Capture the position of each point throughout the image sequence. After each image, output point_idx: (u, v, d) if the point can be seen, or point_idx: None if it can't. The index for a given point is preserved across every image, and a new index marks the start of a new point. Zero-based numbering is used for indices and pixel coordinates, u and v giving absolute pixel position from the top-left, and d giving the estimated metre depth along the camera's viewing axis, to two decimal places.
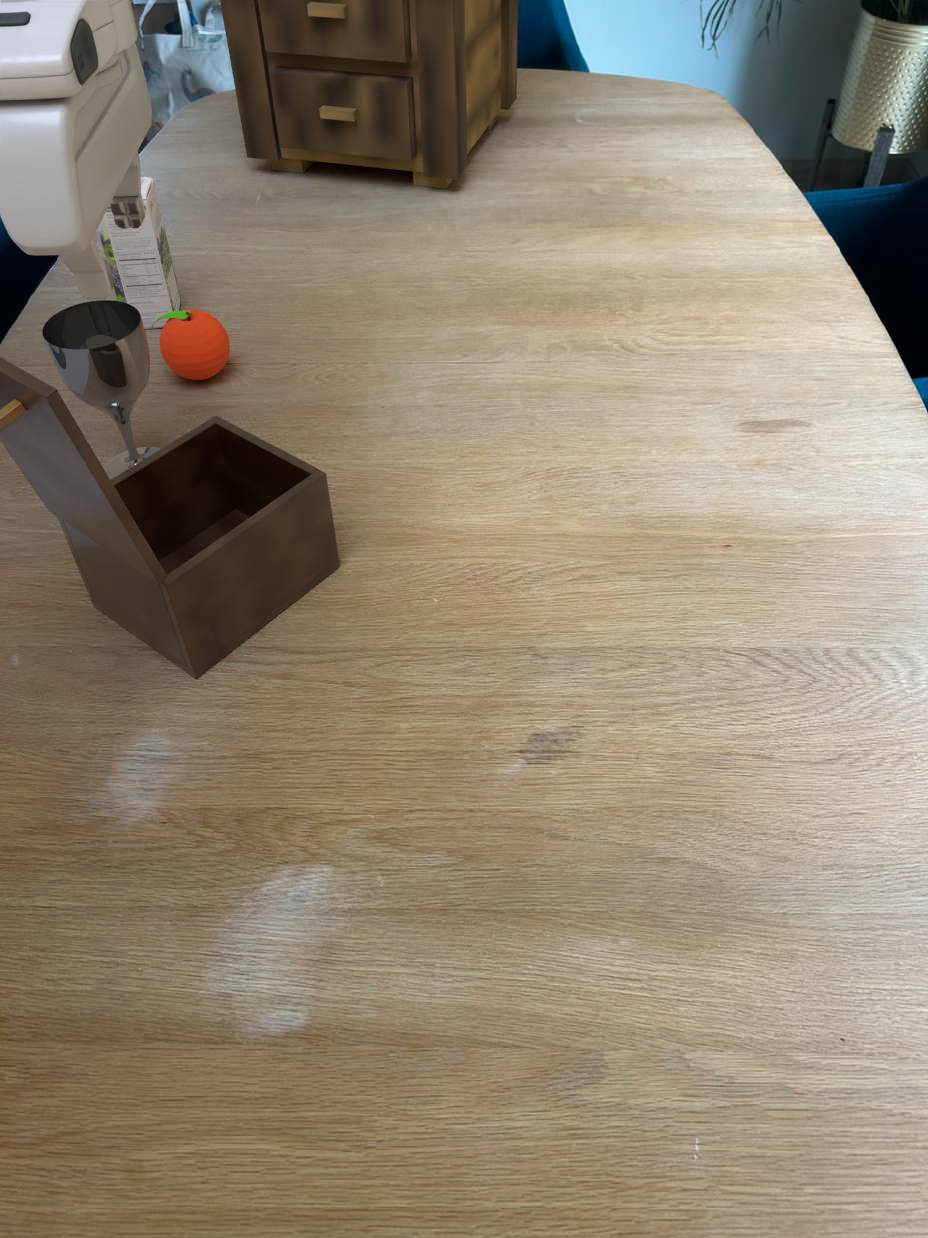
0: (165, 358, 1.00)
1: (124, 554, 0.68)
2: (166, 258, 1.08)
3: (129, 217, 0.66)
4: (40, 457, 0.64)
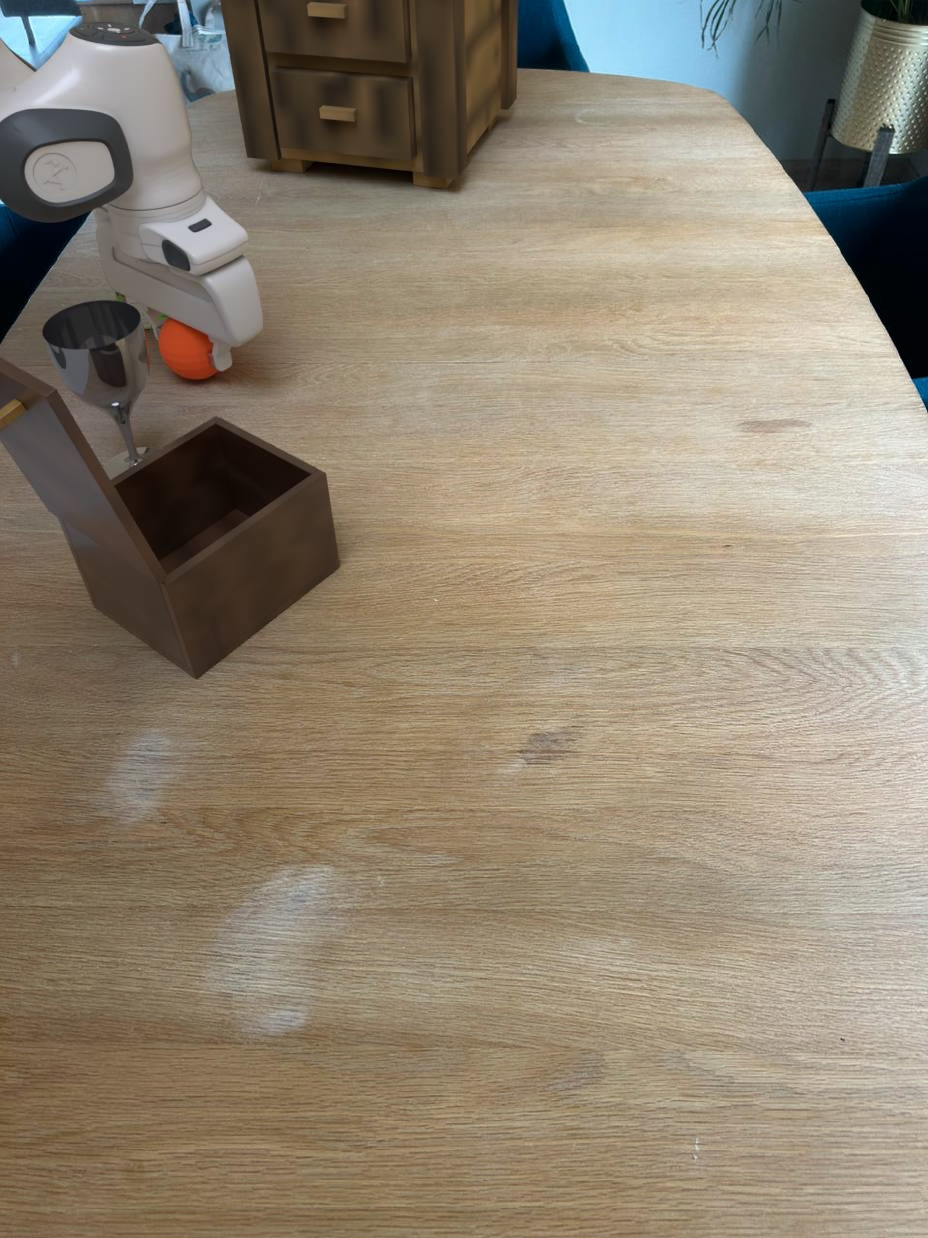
0: (164, 358, 1.00)
1: (124, 554, 0.68)
2: None
3: None
4: (40, 457, 0.64)
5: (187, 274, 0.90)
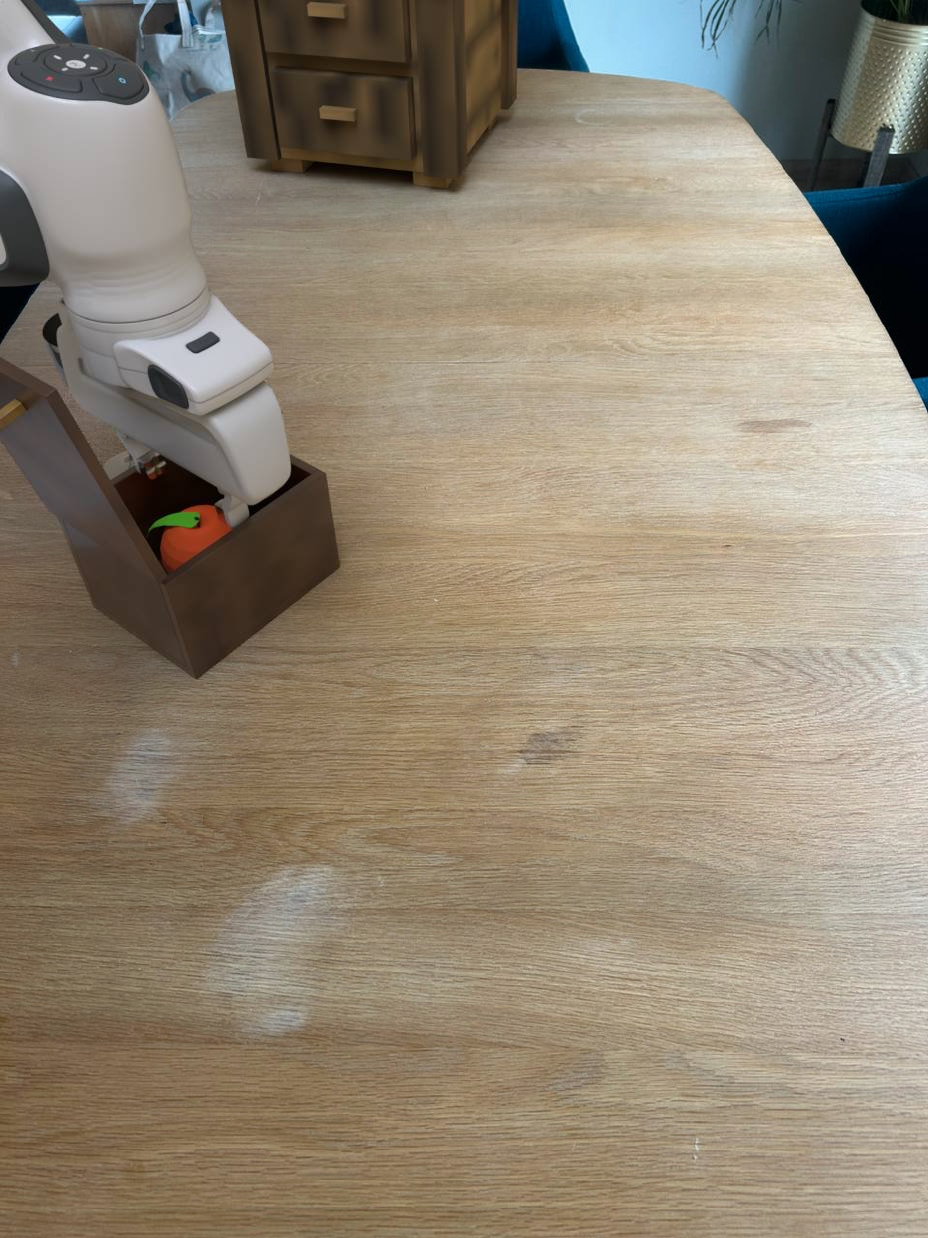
0: None
1: (124, 554, 0.68)
2: None
3: (157, 467, 0.76)
4: (40, 457, 0.64)
5: (184, 410, 0.62)
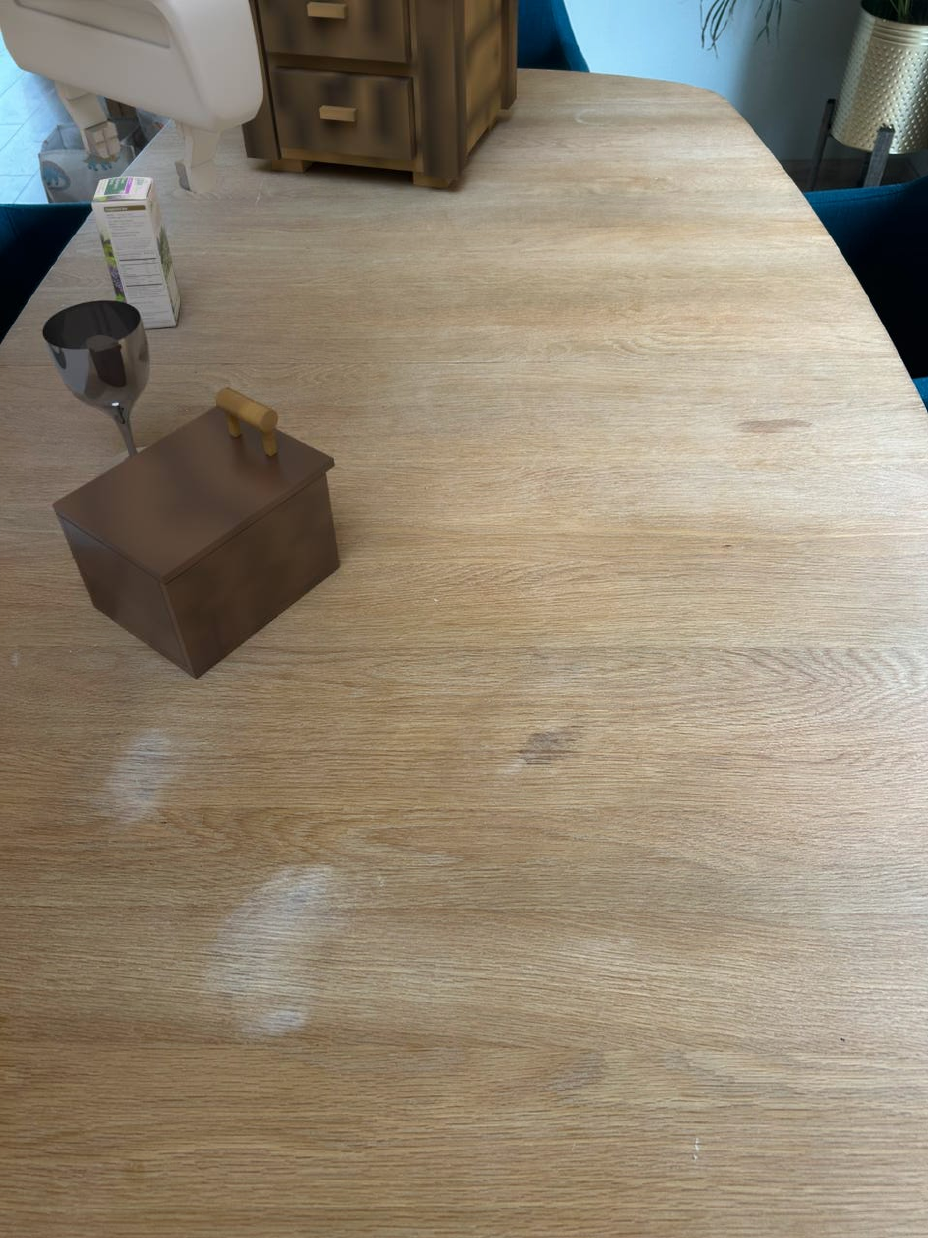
0: None
1: (150, 548, 0.69)
2: (166, 258, 1.08)
3: (109, 144, 0.65)
4: (192, 476, 0.75)
5: None
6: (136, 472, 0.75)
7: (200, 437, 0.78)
